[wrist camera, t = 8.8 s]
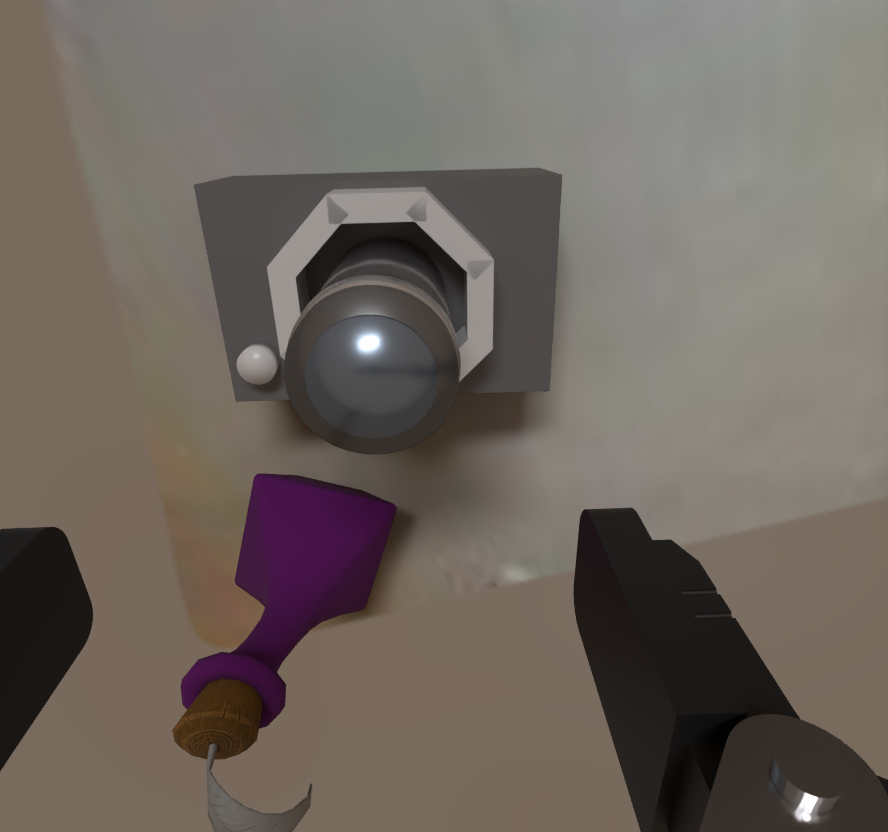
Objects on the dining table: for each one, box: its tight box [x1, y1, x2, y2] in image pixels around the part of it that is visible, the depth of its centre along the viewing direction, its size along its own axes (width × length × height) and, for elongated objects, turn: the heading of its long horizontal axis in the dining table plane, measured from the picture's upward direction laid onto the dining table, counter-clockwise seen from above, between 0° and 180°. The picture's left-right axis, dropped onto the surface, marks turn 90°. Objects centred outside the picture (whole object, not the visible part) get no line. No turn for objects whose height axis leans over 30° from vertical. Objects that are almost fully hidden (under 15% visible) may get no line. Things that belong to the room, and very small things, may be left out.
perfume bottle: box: [172, 474, 396, 832], centre depth 27 cm, size 8×8×18 cm
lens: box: [284, 237, 461, 454], centre depth 20 cm, size 5×5×9 cm
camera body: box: [194, 168, 562, 402], centre depth 26 cm, size 14×9×7 cm, turn 91°
